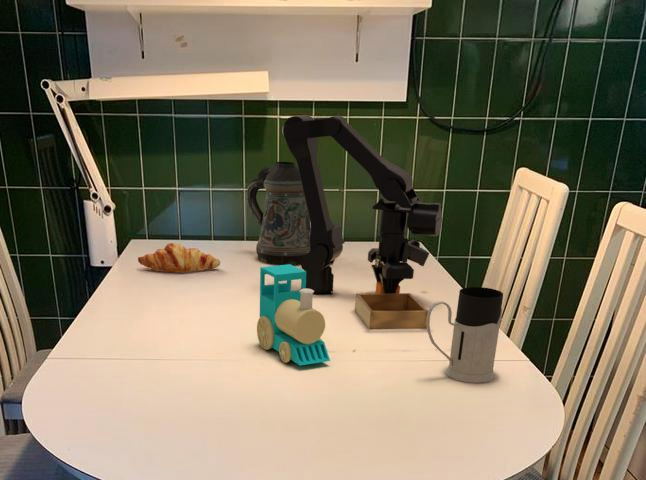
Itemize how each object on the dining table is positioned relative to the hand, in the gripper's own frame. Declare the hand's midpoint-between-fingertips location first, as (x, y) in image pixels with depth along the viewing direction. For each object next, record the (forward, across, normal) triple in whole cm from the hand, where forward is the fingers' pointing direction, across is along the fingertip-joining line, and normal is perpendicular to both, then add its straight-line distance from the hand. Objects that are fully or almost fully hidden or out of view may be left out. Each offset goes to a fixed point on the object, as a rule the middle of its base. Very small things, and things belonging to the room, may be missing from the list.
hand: (386, 300), depth 190 cm
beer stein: (+1, +45, +19) cm, 49 cm away
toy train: (+1, -35, +27) cm, 44 cm away
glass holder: (+1, -48, -1) cm, 48 cm away
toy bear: (0, 0, 0) cm, 0 cm away
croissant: (+1, +33, +47) cm, 57 cm away
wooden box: (0, -14, +3) cm, 15 cm away
